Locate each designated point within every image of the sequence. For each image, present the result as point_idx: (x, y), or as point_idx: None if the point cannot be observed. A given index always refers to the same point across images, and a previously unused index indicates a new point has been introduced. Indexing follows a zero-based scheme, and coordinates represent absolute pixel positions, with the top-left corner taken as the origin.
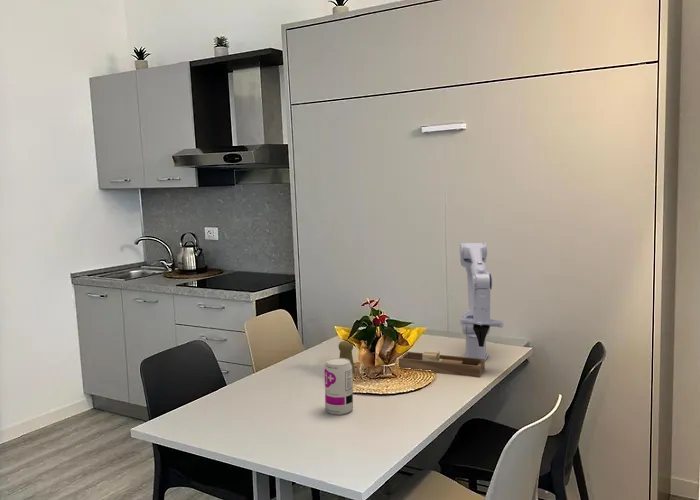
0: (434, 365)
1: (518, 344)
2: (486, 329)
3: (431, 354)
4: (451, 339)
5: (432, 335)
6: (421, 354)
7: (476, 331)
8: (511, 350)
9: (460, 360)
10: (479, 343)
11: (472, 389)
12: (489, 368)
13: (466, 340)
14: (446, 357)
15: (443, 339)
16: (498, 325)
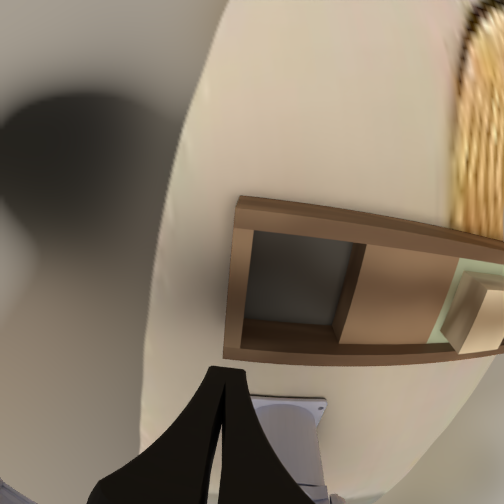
0: (472, 240)
1: None
2: (96, 498)
3: (499, 300)
4: (339, 493)
5: (377, 493)
6: None
7: (270, 494)
8: None
9: (352, 345)
10: (238, 386)
11: (261, 8)
12: (208, 337)
13: (321, 473)
14: (415, 350)
15: (358, 489)
16: (8, 499)
